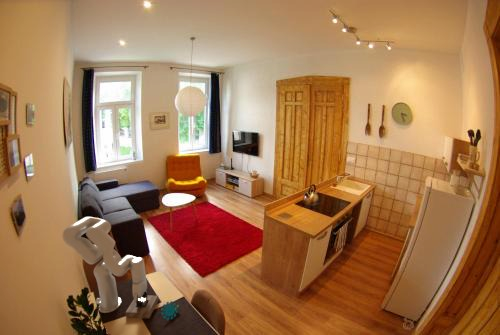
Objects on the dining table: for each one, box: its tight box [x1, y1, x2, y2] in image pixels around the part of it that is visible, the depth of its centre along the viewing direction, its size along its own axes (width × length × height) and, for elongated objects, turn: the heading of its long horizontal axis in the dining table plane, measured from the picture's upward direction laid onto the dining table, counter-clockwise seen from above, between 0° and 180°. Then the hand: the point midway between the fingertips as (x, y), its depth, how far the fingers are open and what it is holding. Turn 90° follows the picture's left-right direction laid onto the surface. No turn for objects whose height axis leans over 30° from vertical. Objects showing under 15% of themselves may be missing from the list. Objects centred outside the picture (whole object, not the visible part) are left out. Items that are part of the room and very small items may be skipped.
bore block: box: [125, 294, 159, 319], centre depth 158 cm, size 14×14×4 cm
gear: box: [160, 300, 180, 321], centre depth 154 cm, size 11×6×10 cm
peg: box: [138, 297, 147, 308], centre depth 157 cm, size 4×4×7 cm
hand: (142, 302), depth 157 cm, fingers open, 6 cm apart
